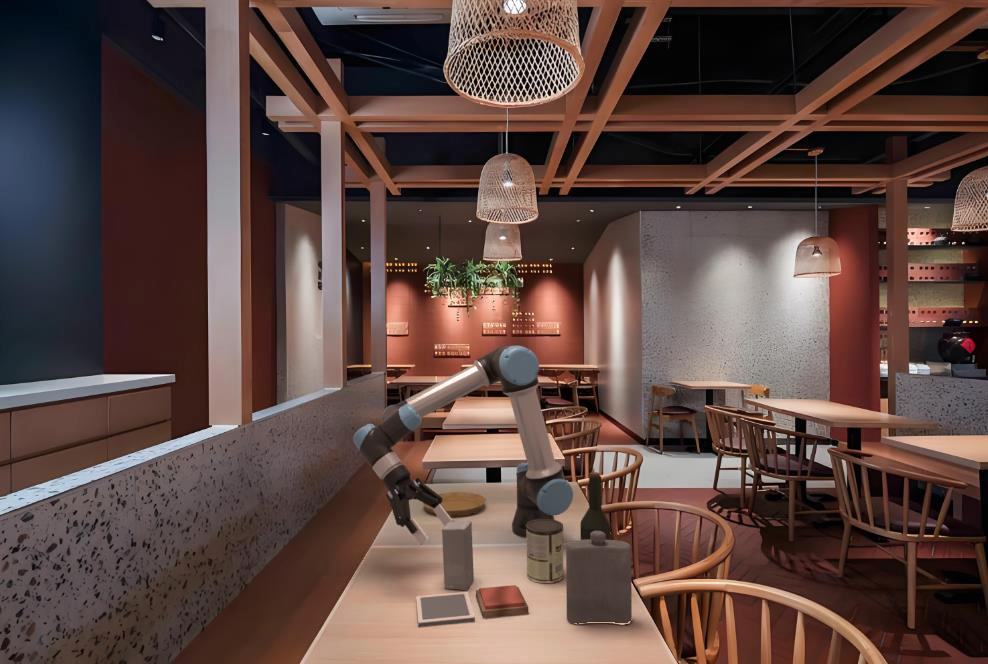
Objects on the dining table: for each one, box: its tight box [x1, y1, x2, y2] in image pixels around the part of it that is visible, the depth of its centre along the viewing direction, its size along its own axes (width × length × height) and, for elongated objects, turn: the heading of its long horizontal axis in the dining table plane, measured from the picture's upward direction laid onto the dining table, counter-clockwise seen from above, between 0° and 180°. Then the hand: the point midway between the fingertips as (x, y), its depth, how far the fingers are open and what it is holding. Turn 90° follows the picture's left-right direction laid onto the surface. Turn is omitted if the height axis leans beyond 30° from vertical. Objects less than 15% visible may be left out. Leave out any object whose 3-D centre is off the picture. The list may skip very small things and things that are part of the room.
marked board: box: [415, 591, 476, 628], centre depth 132 cm, size 13×13×1 cm
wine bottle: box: [580, 471, 612, 540], centre depth 143 cm, size 8×8×30 cm
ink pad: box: [475, 584, 529, 619], centre depth 134 cm, size 11×11×2 cm
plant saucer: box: [422, 491, 487, 517], centre depth 212 cm, size 24×24×3 cm
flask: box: [565, 531, 633, 624], centre depth 128 cm, size 15×6×20 cm, turn 88°
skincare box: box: [441, 519, 475, 591], centre depth 147 cm, size 8×7×16 cm
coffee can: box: [525, 519, 565, 584], centre depth 151 cm, size 10×10×14 cm
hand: (438, 533), depth 149 cm, fingers open, 13 cm apart
